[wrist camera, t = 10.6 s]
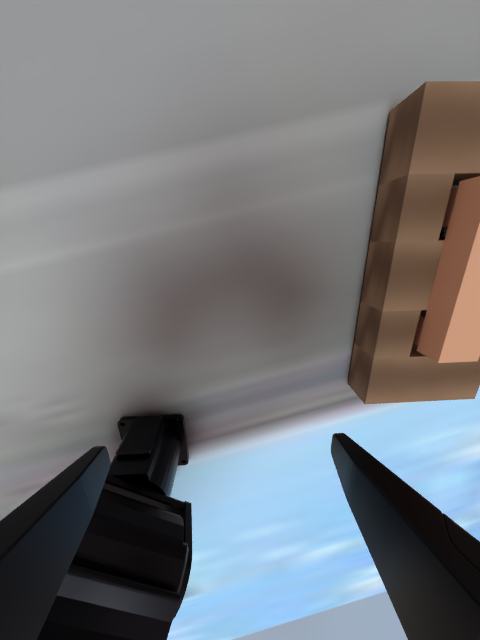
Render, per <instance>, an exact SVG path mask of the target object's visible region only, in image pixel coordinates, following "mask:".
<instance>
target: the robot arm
mask: <svg viewBox="0 0 480 640" xmlns="http://www.w3.org/2000/svg"><path fill="white" fill-rule="evenodd" d="M177 419H178V420H177ZM123 422H124V423H123ZM118 428H119V432H120V436H121V440H122V442H121V444H120V446H119V448H118V450H117V451H116V455H115V457H114V459H113V461H112V462H111V464H110V458H109V455H108V451H107V448H106V447H105V446H95V447H93V448H91V449H90V450H89V451H88V452H86V453H85V454H84V455H83V456H81V457H80V458H79V459H78V460H76V461H75V462H74V463H73V464H71V465H70V466H69V467H67V468H66V469H65V470H64V471H62V472H61V473H60V474H59V475H57V476H56V477H55V478H54V479H52V480H51V481H50V482H49V483H47V484H46V485H45V486H44V487H42V488H41V489H40V490H39V491H37V492H36V493H35V494H34V495H32V496H31V497H30V498H29V499H27V500H26V501H25V502H24V503H22V504H21V505H20V506H19V507H17V508H16V509H15V510H14V511H12V512H11V513H10V514H8V515H7V516H6V517H5V518H3V519H2V520H1V521H0V640H167V637H168V633H169V630H170V626H171V623H172V620H173V619H174V617H175V616H176V614H177V612H178V610H179V608H180V605H181V603H182V600H183V598H184V594H185V591H186V588H187V584H188V580H189V575H190V570H191V562H192V516H191V503H189V502H186V501H185V502H182V501H180V500H177V499H174V498H171V497H170V495H171V491H172V487H173V482H174V478H175V474H176V470H177V466H178V465H186V464H188V461H189V455H188V447H187V440H186V432H185V424H184V418H183V416H182V415H160V416H140V417H123V418H120V420H119V421H118ZM331 454H332V458H333V461H334V464H335V467H336V469H337V472H338V475H339V478H340V481H341V484H342V487H343V490H344V493H345V496H346V499H347V501H348V504H349V506H350V508H351V511H352V513H353V515H354V517H355V520H356V522H357V524H358V526H359V529H360V531H361V533H362V536H363V538H364V540H365V542H366V545H367V547H368V549H369V552H370V554H371V556H372V558H373V561H374V563H375V565H376V568H377V570H378V572H379V574H380V577H381V579H382V581H383V583H384V586H385V588H386V590H387V593H388V595H389V597H390V599H391V602H392V604H393V606H394V609H395V611H396V613H397V615H398V618H399V620H400V622H401V624H402V627H403V629H404V631H405V634H406V636H407V638H408V640H480V542H479V541H478V540H477V539H476V538H474V537H473V536H472V535H471V534H469V533H468V532H467V531H465V530H464V529H463V528H462V527H460V526H459V525H458V524H456V523H455V522H454V521H453V520H452V519H450V518H449V517H448V516H447V515H445V514H442V512H441V511H440V510H439V509H438V508H436V507H435V506H434V505H433V504H431V503H430V502H429V501H428V500H427V499H425V498H424V497H423V496H422V495H420V494H419V493H418V492H417V491H415V490H414V489H413V488H412V487H410V486H409V485H408V484H407V483H405V482H404V481H403V480H402V479H400V478H399V477H398V476H397V475H395V474H394V473H393V472H392V471H390V470H389V469H388V468H387V467H385V466H384V465H383V464H382V463H381V462H379V461H378V460H377V459H376V458H374V457H373V456H372V455H371V454H369V453H368V452H367V451H366V450H364V449H363V448H362V447H361V446H359V445H358V444H357V443H356V442H354V441H353V440H352V439H351V438H349V437H348V436H347V435H346V434H344V433H335V434H333V437H332V444H331Z"/></svg>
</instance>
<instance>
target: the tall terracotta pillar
mask: <svg viewBox="0 0 480 640" xmlns="http://www.w3.org/2000/svg"><path fill="white" fill-rule="evenodd" d="M441 229H447V233H446V237H445V241H444V245H443V249H442V253H441V257H440V261H439V265H438V268H437V272H436V276H435V280H434V284H433V288H432V292H431V296H430V300H429V304H428V308H427V310H421V312H420V316H419V321H418V325H417V329H416V333H415V337H414V341H413V343H414V344H416V345H418V347H417V351H418V352H420V353H421V354H423V355H425V356H427V357H428V358H430V359H432V360H434V361H435V362H437V363H452V362H473V361H478V360H479V357H480V176H478V177H474V178H470V179H467V180H463V181H460V182H459V186H458V188H455V189H451V191H450V196H449V200H448V204H447V208H446V212H445V216H444V220H443V224H442V228H441Z"/></svg>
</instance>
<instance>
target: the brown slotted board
mask: <svg viewBox="0 0 480 640" xmlns="http://www.w3.org/2000/svg"><path fill="white" fill-rule="evenodd" d="M478 176H480V82H425V83H424V84H423V85H422V86H420V87H419V88H418V89H417V90H415V91H414V92H413V93H412V94H411V95H409V96H408V97H407V98H406V99H405V100H403V101H402V102H401V103H400V104H398V105H397V106H396V107H395V108H394V109H392V110H391V111H390V116H389V123H388V129H387V136H386V142H385V149H384V155H383V162H382V168H381V174H380V181H379V187H378V194H377V200H376V207H375V213H374V220H373V226H372V232H371V239H370V245H369V252H368V258H367V265H366V271H365V277H364V284H363V290H362V297H361V303H360V310H359V316H358V323H357V329H356V335H355V342H354V348H353V355H352V361H351V368H350V374H349V381H348V385H349V386H350V387H351V388H352V389H353V390H354V392H355V393H356V394H357V395H358V396H359V398H360V399H361V400H362V401H363V402H364V404H377V403H397V402H417V401H437V400H457V399H475V396H476V393H477V391H478V388H479V385H480V357H479V360H478V361H473V362H452V363H437V362H435V361H434V360H432V359H430V358H428V357H427V356H425V355H423V354H421V353H420V352H418V351H417V347H418V345H416V344H414V343H413V341H414V337H415V333H416V329H417V325H418V321H419V316H420V312H421V310H427V308H428V304H429V300H430V296H431V292H432V288H433V284H434V280H435V276H436V272H437V268H438V265H439V261H440V257H441V253H442V249H443V245H444V241H445V240H439V236H440V232H441V228H442V224H443V220H444V216H445V212H446V208H447V204H448V200H449V196H450V191H451V187H452V184H459V182H460V181H463V180H467V179H470V178H474V177H478Z"/></svg>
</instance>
